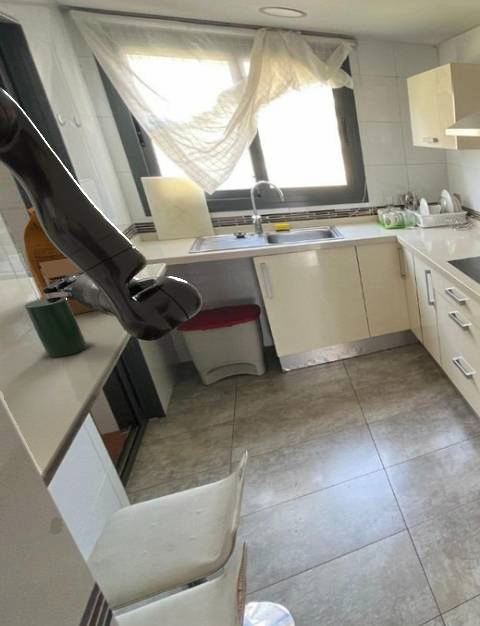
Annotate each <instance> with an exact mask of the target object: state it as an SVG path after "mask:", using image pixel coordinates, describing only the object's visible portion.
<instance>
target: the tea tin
mask: <svg viewBox="0 0 480 626" xmlns="http://www.w3.org/2000/svg"><path fill="white" fill-rule="evenodd" d="M24 308H25V310H26V313H27V315H28V317H29V319H30V321H31V323H32V325H33V327H34V330H35V332H36V333H37V336H38V338H39V340H40V342H41V344H42V346H43V349H44V351H45V353H46V355H47V356H48V357H49V358H60V357H66V356H69V355H74V354H76V353H79V352H82V351H84V350H86V349H87V348H88V345H87V342H86V339H85V337H84V335H83V332H82V330H81V328H80V326H79V323H78V321H77V319H76V316H75V314H73V312H72V309H71V307H70V305H69V302H68V300H67V298H66V297H64V299H60V300H58V301H56V302H54V303H48V301H47V299H46V298H45V299H44V298H42V299H36V300H33V301H30V302H27V303H25V304H24Z"/></svg>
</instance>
